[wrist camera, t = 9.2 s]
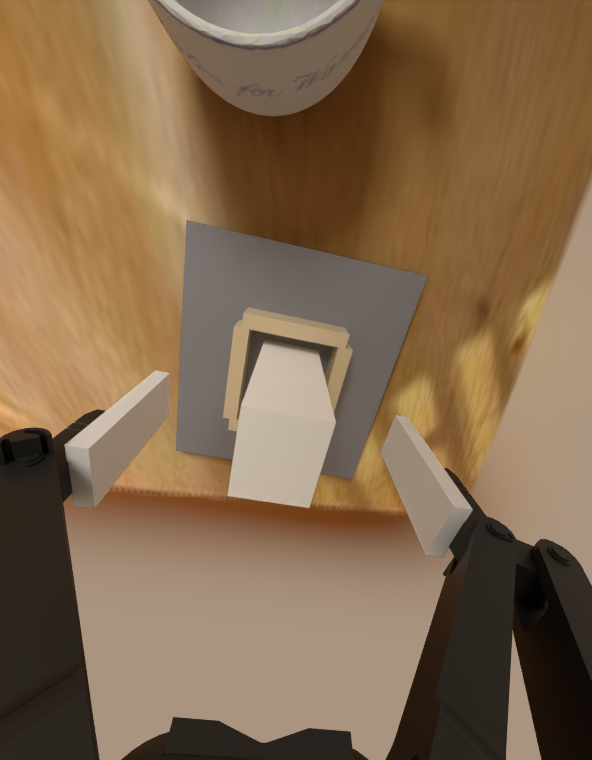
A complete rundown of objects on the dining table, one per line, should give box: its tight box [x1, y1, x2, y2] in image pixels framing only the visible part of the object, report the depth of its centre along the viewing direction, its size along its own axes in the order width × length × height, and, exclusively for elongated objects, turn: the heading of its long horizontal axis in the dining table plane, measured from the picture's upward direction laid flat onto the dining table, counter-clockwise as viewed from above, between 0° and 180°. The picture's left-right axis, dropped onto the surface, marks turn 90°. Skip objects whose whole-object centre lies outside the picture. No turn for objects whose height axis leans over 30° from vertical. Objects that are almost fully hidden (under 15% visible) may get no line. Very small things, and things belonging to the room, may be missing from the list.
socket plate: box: [176, 220, 428, 479], centre depth 21 cm, size 18×16×3 cm
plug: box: [228, 339, 336, 508], centre depth 17 cm, size 5×4×10 cm
